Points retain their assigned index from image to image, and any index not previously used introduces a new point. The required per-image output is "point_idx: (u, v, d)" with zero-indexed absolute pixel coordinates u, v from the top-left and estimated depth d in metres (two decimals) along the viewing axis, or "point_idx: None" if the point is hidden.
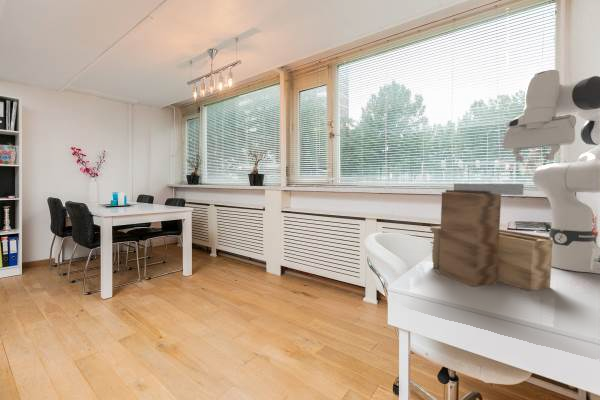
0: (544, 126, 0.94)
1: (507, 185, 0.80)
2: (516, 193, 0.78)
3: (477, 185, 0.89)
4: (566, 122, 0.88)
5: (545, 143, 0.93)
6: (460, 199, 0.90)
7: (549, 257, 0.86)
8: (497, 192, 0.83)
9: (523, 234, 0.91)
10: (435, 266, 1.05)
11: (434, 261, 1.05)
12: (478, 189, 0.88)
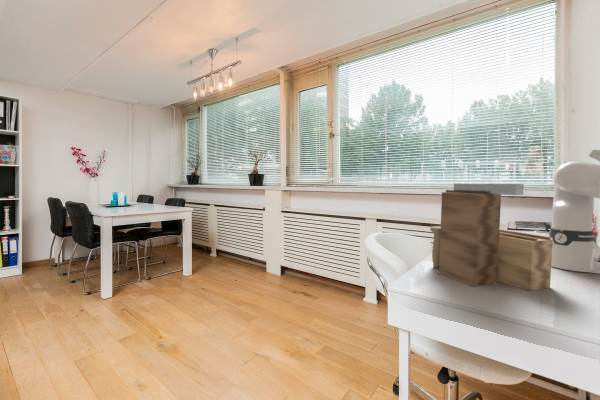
0: None
1: (507, 185, 0.80)
2: (516, 193, 0.78)
3: (477, 185, 0.89)
4: None
5: None
6: (460, 199, 0.90)
7: (549, 257, 0.86)
8: (497, 192, 0.83)
9: (523, 234, 0.91)
10: (435, 266, 1.05)
11: (434, 261, 1.05)
12: (478, 189, 0.88)
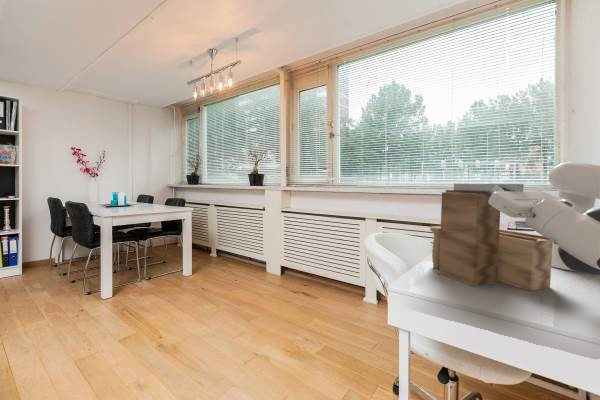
0: (531, 203, 0.73)
1: (507, 185, 0.80)
2: None
3: (477, 185, 0.89)
4: (515, 204, 0.71)
5: (509, 191, 0.77)
6: (460, 199, 0.90)
7: (549, 257, 0.86)
8: None
9: (523, 234, 0.91)
10: (435, 266, 1.05)
11: (434, 261, 1.05)
12: (478, 189, 0.88)
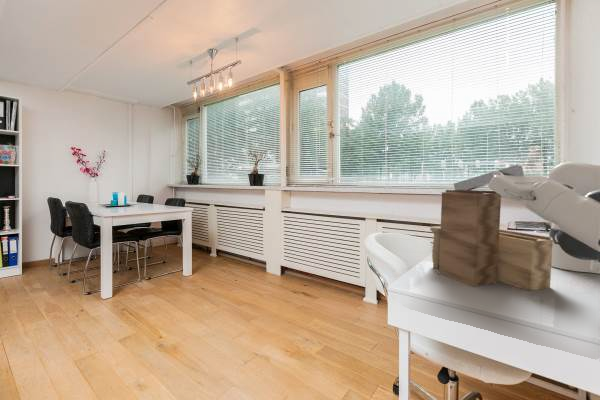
0: (531, 186, 0.73)
1: (506, 169, 0.80)
2: (516, 174, 0.78)
3: (477, 178, 0.88)
4: (516, 187, 0.71)
5: None
6: (460, 199, 0.90)
7: (549, 257, 0.86)
8: None
9: (523, 234, 0.91)
10: (435, 266, 1.05)
11: (434, 261, 1.05)
12: (479, 181, 0.88)
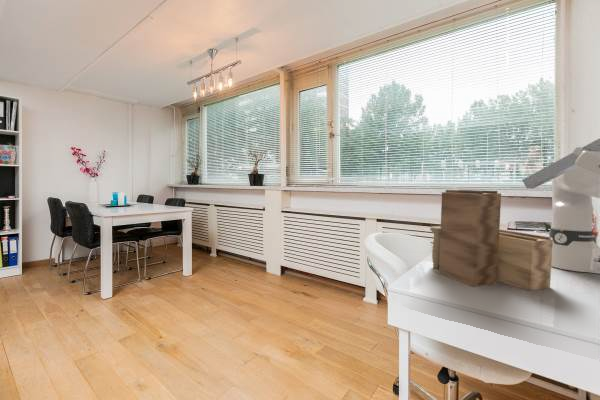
0: None
1: (589, 145, 0.73)
2: None
3: (552, 165, 0.80)
4: None
5: None
6: (460, 199, 0.90)
7: (549, 257, 0.86)
8: None
9: (523, 234, 0.91)
10: (435, 266, 1.05)
11: (434, 261, 1.05)
12: (556, 168, 0.79)
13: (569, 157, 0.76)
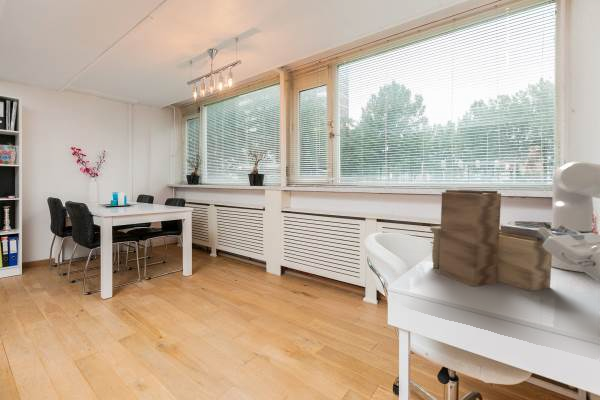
0: (589, 250, 0.72)
1: None
2: None
3: (529, 231, 0.86)
4: (575, 253, 0.70)
5: (564, 235, 0.76)
6: (460, 199, 0.90)
7: (549, 257, 0.86)
8: None
9: None
10: (435, 266, 1.05)
11: (434, 261, 1.05)
12: (531, 235, 0.86)
13: None
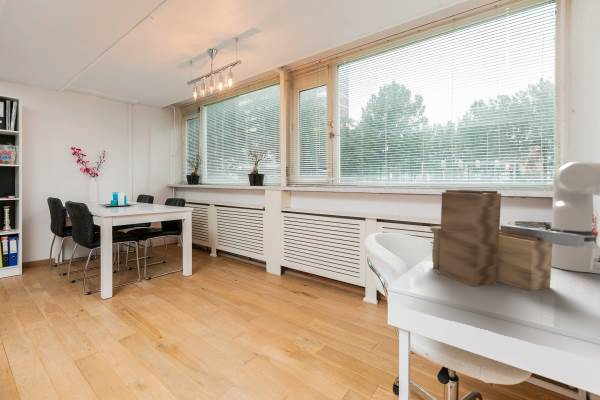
0: None
1: (567, 236, 0.77)
2: (577, 245, 0.75)
3: (529, 231, 0.86)
4: None
5: None
6: (460, 199, 0.90)
7: (549, 257, 0.86)
8: (554, 241, 0.80)
9: None
10: (435, 266, 1.05)
11: (434, 261, 1.05)
12: (531, 235, 0.86)
13: (546, 234, 0.82)
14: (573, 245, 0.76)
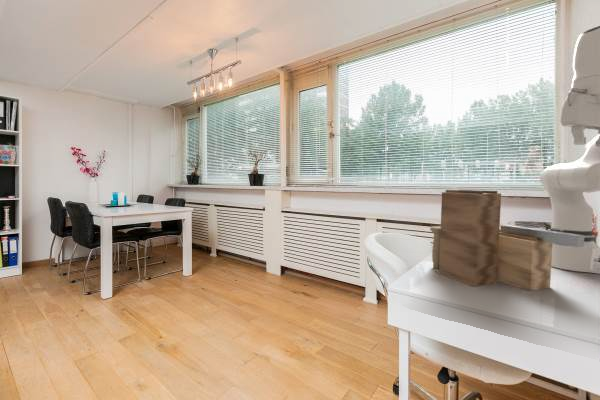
0: None
1: (567, 236, 0.77)
2: (577, 245, 0.75)
3: (529, 231, 0.86)
4: (564, 101, 0.73)
5: None
6: (460, 199, 0.90)
7: (549, 257, 0.86)
8: (554, 241, 0.80)
9: None
10: (435, 266, 1.05)
11: (434, 261, 1.05)
12: (531, 235, 0.86)
13: (546, 234, 0.82)
14: (573, 245, 0.76)
